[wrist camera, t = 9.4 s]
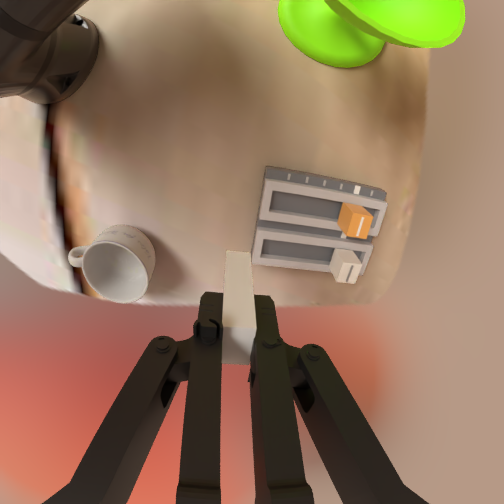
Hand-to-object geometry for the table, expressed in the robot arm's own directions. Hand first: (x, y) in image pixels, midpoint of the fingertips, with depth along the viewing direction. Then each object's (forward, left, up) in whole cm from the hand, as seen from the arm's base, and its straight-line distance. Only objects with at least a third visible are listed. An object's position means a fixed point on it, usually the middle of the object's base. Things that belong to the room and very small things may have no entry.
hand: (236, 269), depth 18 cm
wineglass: (-27, +9, -23) cm, 36 cm away
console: (+4, +12, -23) cm, 26 cm away
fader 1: (+1, +15, -20) cm, 25 cm away
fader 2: (+8, +16, -20) cm, 27 cm away
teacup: (+12, -18, -23) cm, 31 cm away
